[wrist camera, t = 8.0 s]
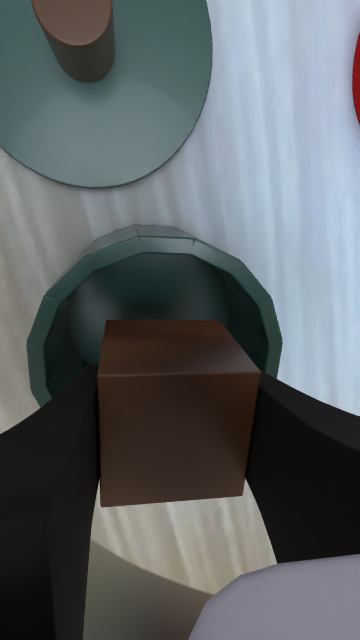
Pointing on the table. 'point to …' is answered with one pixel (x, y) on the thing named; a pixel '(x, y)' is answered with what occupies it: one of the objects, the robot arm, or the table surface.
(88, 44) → the lid
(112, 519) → the table surface
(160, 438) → the block
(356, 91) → the decorative ornament
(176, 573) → the table surface
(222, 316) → the tin
